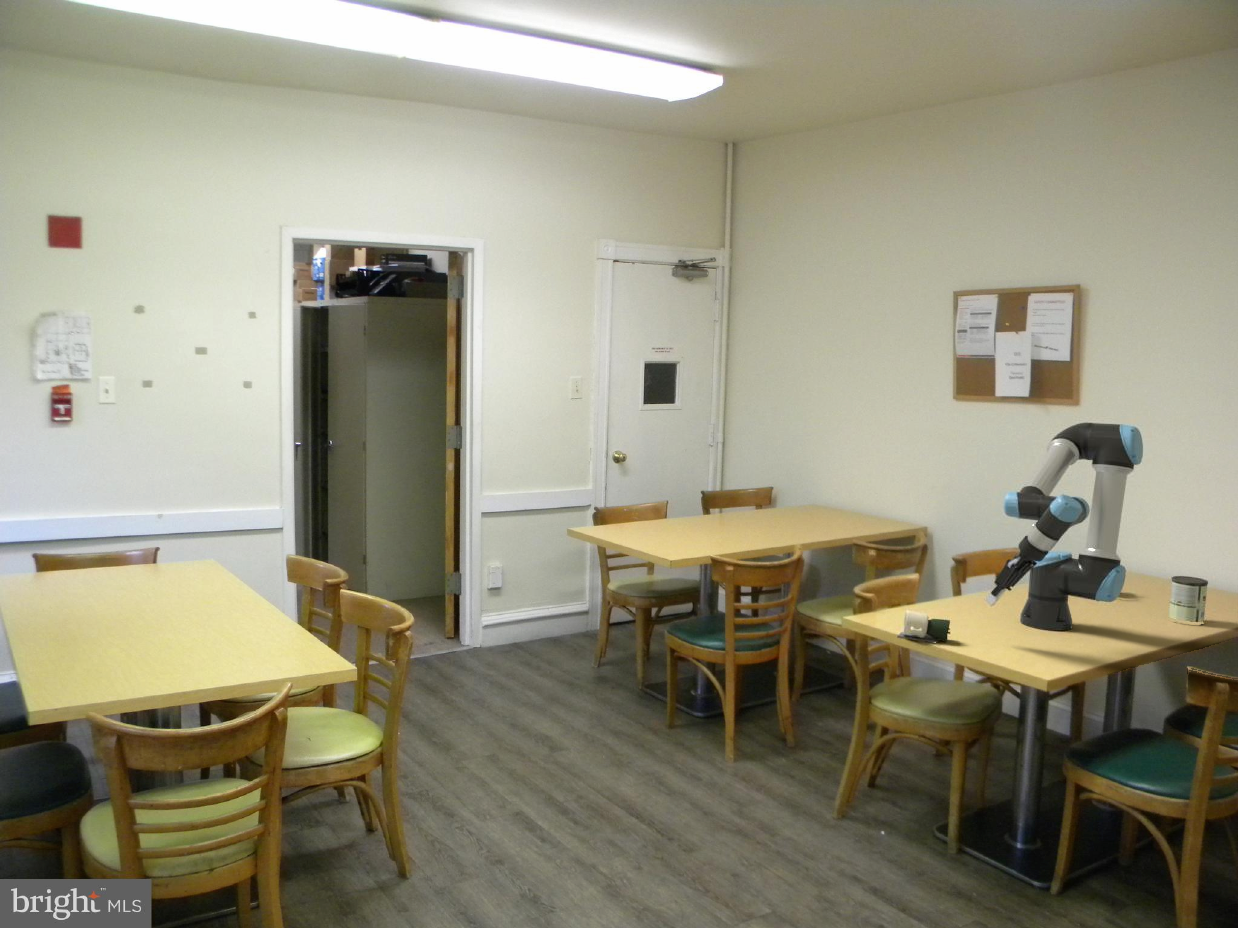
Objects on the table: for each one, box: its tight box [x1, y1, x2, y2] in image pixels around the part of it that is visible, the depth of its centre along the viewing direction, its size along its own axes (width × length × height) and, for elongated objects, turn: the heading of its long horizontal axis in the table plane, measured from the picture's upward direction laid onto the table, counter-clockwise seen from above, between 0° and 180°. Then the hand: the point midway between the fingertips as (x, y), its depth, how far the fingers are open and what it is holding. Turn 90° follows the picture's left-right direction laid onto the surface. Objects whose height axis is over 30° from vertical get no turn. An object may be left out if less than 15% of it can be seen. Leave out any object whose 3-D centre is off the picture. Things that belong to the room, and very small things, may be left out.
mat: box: [897, 630, 940, 643], centre depth 301 cm, size 11×16×1 cm
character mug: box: [902, 610, 951, 642], centre depth 295 cm, size 11×7×13 cm
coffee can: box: [1168, 575, 1209, 622], centre depth 328 cm, size 10×10×14 cm
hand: (988, 602), depth 294 cm, fingers closed
